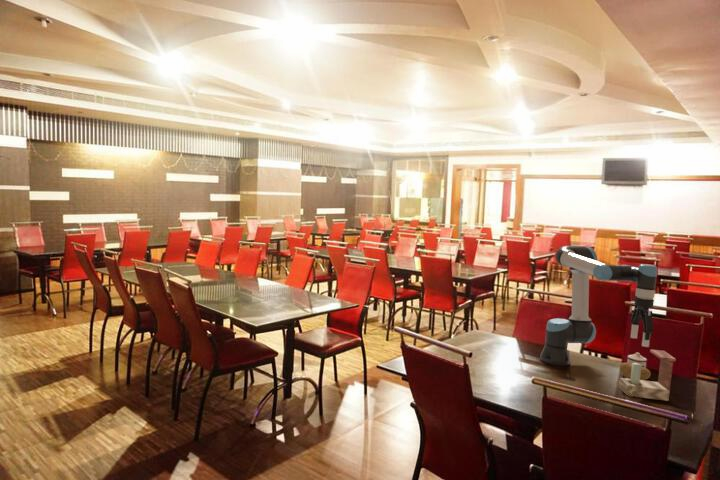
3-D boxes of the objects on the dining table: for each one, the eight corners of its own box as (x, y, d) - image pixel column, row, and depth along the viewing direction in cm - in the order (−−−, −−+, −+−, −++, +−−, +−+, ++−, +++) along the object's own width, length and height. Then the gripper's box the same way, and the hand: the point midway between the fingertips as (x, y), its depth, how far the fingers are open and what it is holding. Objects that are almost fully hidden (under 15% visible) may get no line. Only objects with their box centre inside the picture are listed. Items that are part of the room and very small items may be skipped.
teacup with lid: (642, 379, 246) (645, 357, 245) (623, 373, 252) (625, 352, 251) (649, 373, 254) (651, 352, 253) (630, 368, 260) (632, 348, 259)
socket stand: (626, 396, 221) (631, 354, 219) (617, 386, 232) (622, 346, 231) (670, 401, 217) (675, 358, 216) (659, 391, 229) (664, 350, 227)
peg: (630, 393, 224) (634, 365, 223) (627, 390, 228) (630, 362, 227) (639, 394, 224) (642, 366, 222) (636, 391, 227) (639, 363, 226)
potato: (647, 386, 235) (649, 371, 234) (616, 378, 244) (618, 363, 243) (651, 381, 242) (653, 366, 241) (621, 373, 251) (622, 359, 251)
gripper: (665, 304, 209) (659, 351, 211) (642, 293, 233) (637, 335, 235) (646, 302, 210) (641, 349, 212) (625, 292, 235) (621, 334, 236)
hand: (639, 342), depth 224 cm, fingers open, 13 cm apart
